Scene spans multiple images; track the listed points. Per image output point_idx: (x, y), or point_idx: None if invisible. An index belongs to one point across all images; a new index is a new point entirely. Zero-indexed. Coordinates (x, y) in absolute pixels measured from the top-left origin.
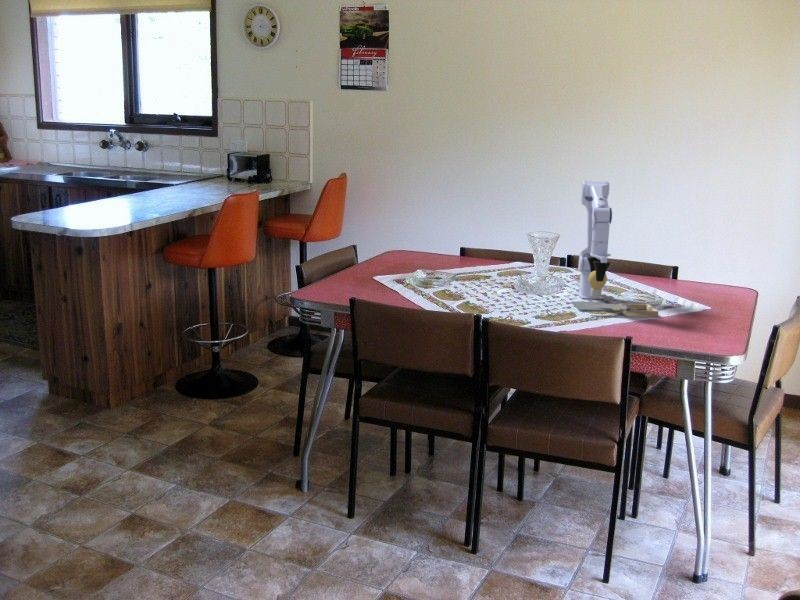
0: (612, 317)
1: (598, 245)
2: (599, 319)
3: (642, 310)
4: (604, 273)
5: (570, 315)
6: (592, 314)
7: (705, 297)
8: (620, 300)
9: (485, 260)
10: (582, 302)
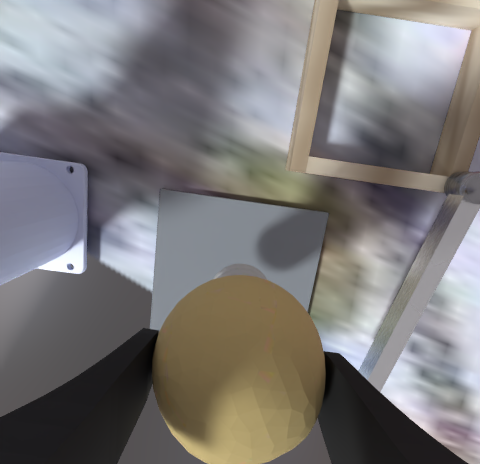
0: None
1: None
2: (451, 332)
3: (475, 96)
4: (396, 417)
5: None
6: (365, 327)
7: None
8: (89, 59)
9: None
10: (169, 300)
